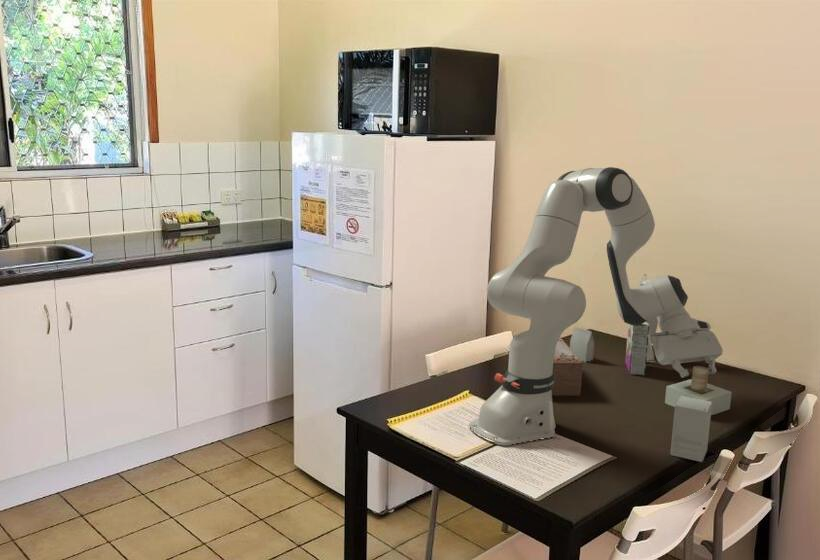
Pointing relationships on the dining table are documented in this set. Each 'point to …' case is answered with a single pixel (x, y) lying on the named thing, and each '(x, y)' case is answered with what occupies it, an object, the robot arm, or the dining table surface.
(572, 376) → the tissue box cover
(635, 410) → the dining table surface
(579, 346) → the grey bevelled box
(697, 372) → the peg
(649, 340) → the skyscraper
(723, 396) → the socket block
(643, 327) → the candy bar box
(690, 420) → the supplement box
